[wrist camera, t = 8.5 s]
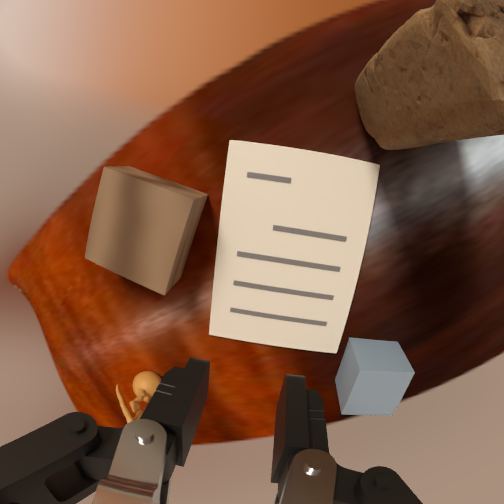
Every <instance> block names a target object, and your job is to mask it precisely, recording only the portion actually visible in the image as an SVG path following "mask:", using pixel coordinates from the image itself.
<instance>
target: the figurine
mask: <svg viewBox="0 0 504 504" xmlns="http://www.w3.org/2000/svg"><path fill="white" fill-rule="evenodd" d="M161 380H162V379H161V377H160V376H159V375H158V374H156V373H154V372H151V371H144V372H141V373H139V374H138V375H137V376H136V377H135V378H134V381H133V390H134V393H135V394H136V396H137V397H136V399H134V400H133V401H131V402H130V406H131V407H132V411H133V412H134V413H135V412H136V413H137V414H136V416H135V417H134V418H132V416H131V414H130V413H129V411H128V409H127V407H126V406H125V404H124V400H123V398H122V396H121V394H120V392H119V389H118V384H117V385H116V393H117V397H118V399H119V401H120V405H121V408H122V411H123V413H124V415H125V417H126V419H127V423H129V422H131V421H133V420H137V419H139V418H140V417H141V415H142V413H143V412H144V410H145V409H144V410H143V411H142V410H141V406H140V404H138V403H137V402H141V401H142V400H143V401H145V402H148V403H149V401H150V399H151V397H152V396H153V394H154V392H155V391H156V389H157V387H158V385H159V384H160V381H161ZM145 408H146V407H145Z"/></svg>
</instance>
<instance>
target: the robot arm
mask: <svg viewBox="0 0 504 504" xmlns="http://www.w3.org/2000/svg"><path fill="white" fill-rule="evenodd" d="M209 368H210V362H209V361H207V360H202V359H197V358H193V357H190V358H189V360H188V362H187V364H186V366H185V368H184V369H183V368H179V367H173V368H172V369H171V370H169V371H168V372H166V373H165V374H164V376H163V378H162V380H161V381H160V384H159V385H158V387H157V389H156V391H155V392H154V394H153V396H152V397H151V399H150V401H149V403H148V405H147V406H146V408H145V410H144V412H143V413H142V415H141V417H140V418H139V419H137V420H133V421H131V422H129V423H128V424H127V425H126V426H125V427H123V428H113V427H103V426H97V423H96V421H95V420H94V418H92V417H91V416H90V415H88V414H86V413H82V412H72V413H68V414H66V415H64V416H62V417H60V418H58V419H56V420H54V421H52V422H50V423H49V424H46V425H45V426H43V427H40V428H38V429H36V430H35V431H32V432H30V433H28V434H26V435H24V436H22V437H20V438H18V439H16V440H14V441H12V442H10V443H8V444H5V445H3V446H1V447H0V504H76V503H78V502H79V501H81V500H82V499H84V498H86V497H87V496H89V495H90V494H92V493H93V492H95V491H96V492H95V495H94V499H93V502H92V504H168V502H169V494H170V486H171V476H172V473H173V471H174V468H175V465H179V466H184V464H185V461H186V458H187V455H188V452H189V450H190V447H191V444H192V441H193V438H194V435H195V432H196V429H197V426H198V423H199V421H200V418H201V415H202V412H203V409H204V406H205V403H206V399H207V393H208V382H209ZM271 482H272V483H278V493H277V495H276V497H275V500H274V503H273V504H423V503H421V501H420V500H419V499H418V498H417V496H416V495H415V494H414V493H413V492H412V491H411V490H410V488H409V487H408V486H407V485H406V483H405V482H404V481H403V480H402V479H401V478H400V476H399V475H398V474H397V473H396V472H395V471H393V470H392V469H390V468H387V467H381V466H378V467H372V468H370V469H368V470H367V471H365V472H364V473H361V472H357V471H353V470H349V469H346V468H343V467H341V466H340V465H338V464H337V463H336V462H335V460H334V458H333V457H332V456H331V455H330V453H329V448H328V439H327V429H326V421H325V412H324V403H323V399H322V398H321V396H320V395H319V393H318V392H317V390H307V389H306V379H305V376H298V375H290V374H286V375H285V378H284V382H283V385H282V389H281V393H280V397H279V401H278V405H277V411H276V420H275V435H274V449H273V462H272V474H271Z"/></svg>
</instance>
